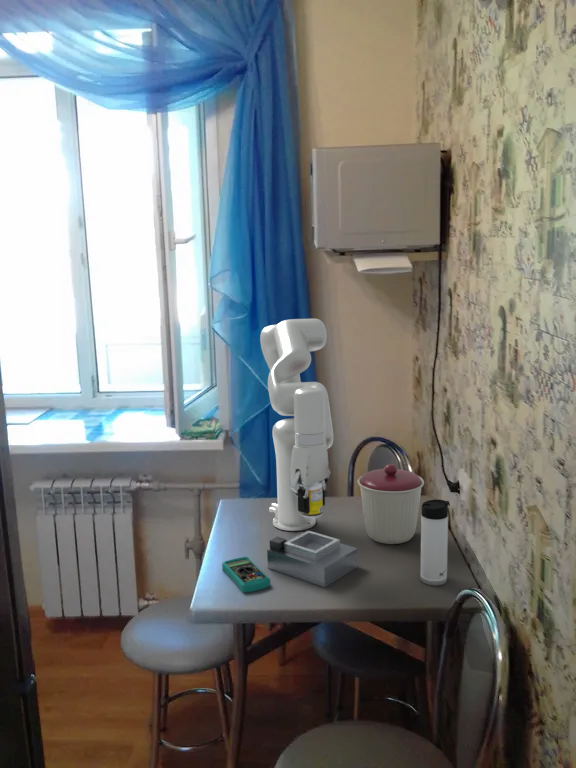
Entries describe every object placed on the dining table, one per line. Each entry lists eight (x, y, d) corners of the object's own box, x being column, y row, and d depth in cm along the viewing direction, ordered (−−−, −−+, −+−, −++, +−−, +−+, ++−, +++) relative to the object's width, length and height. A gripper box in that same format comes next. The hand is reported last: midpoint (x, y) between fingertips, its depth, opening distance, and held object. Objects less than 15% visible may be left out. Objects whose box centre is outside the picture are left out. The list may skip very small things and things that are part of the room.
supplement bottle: (297, 512, 179) (296, 474, 177) (318, 510, 181) (317, 471, 179) (304, 520, 174) (303, 480, 172) (326, 517, 175) (325, 477, 174)
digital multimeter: (243, 595, 167) (243, 584, 167) (221, 571, 180) (221, 560, 180) (272, 589, 170) (271, 577, 170) (248, 565, 184) (247, 554, 183)
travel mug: (449, 586, 168) (450, 506, 164) (420, 585, 169) (421, 505, 166) (447, 574, 174) (449, 497, 170) (420, 573, 175) (421, 496, 172)
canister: (351, 546, 192) (350, 471, 188) (365, 521, 209) (365, 453, 205) (418, 554, 186) (418, 477, 182) (427, 528, 203) (428, 457, 199)
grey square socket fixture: (267, 567, 181) (266, 540, 179) (301, 549, 191) (301, 523, 190) (324, 587, 169) (324, 558, 168) (357, 566, 180) (357, 539, 178)
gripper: (318, 429, 183) (320, 496, 186) (275, 443, 169) (277, 515, 173) (342, 432, 178) (343, 501, 181) (300, 448, 165) (302, 522, 168)
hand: (311, 507), depth 177 cm, fingers closed on supplement bottle, 5 cm apart
